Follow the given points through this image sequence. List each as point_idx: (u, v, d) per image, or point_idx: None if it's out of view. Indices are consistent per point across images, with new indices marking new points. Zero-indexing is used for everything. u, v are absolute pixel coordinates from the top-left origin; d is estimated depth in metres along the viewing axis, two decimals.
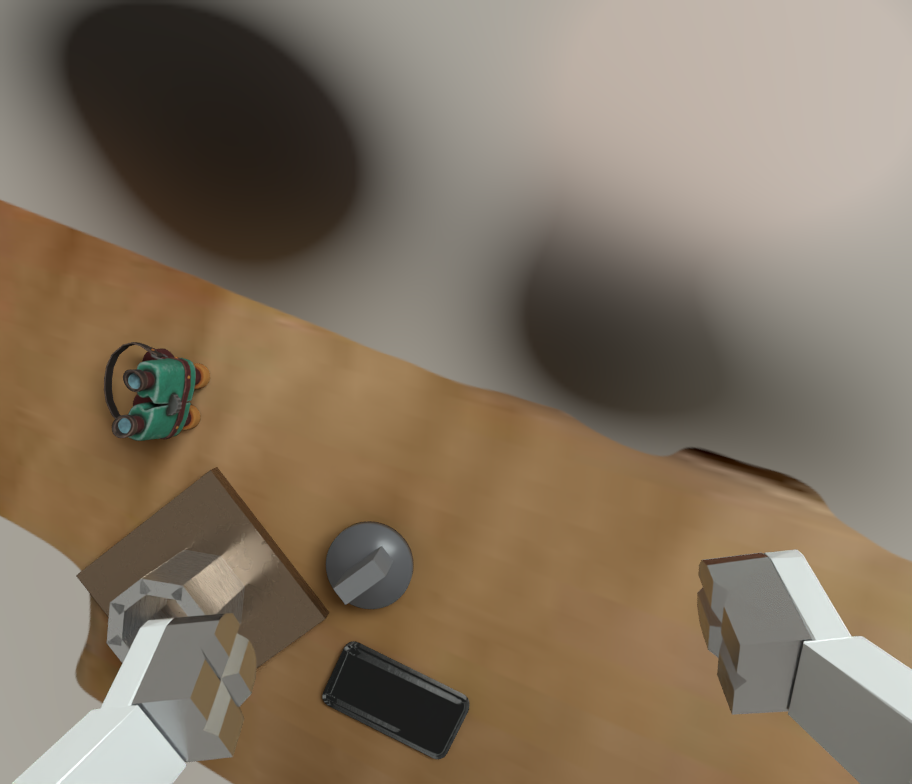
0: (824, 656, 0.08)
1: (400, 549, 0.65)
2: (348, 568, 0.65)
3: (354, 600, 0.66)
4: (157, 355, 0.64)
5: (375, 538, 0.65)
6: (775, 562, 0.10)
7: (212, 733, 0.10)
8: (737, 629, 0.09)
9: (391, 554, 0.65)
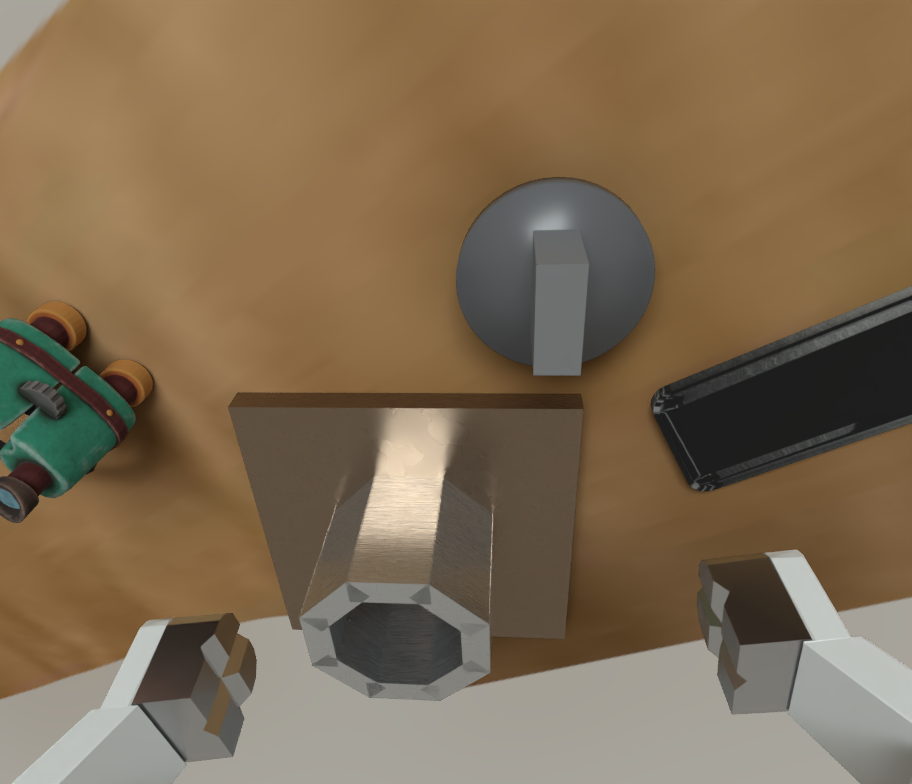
0: (825, 656, 0.08)
1: (568, 198, 0.27)
2: (528, 319, 0.30)
3: (591, 348, 0.31)
4: None
5: (511, 231, 0.28)
6: (775, 562, 0.10)
7: (212, 733, 0.10)
8: (737, 629, 0.09)
9: (564, 223, 0.27)
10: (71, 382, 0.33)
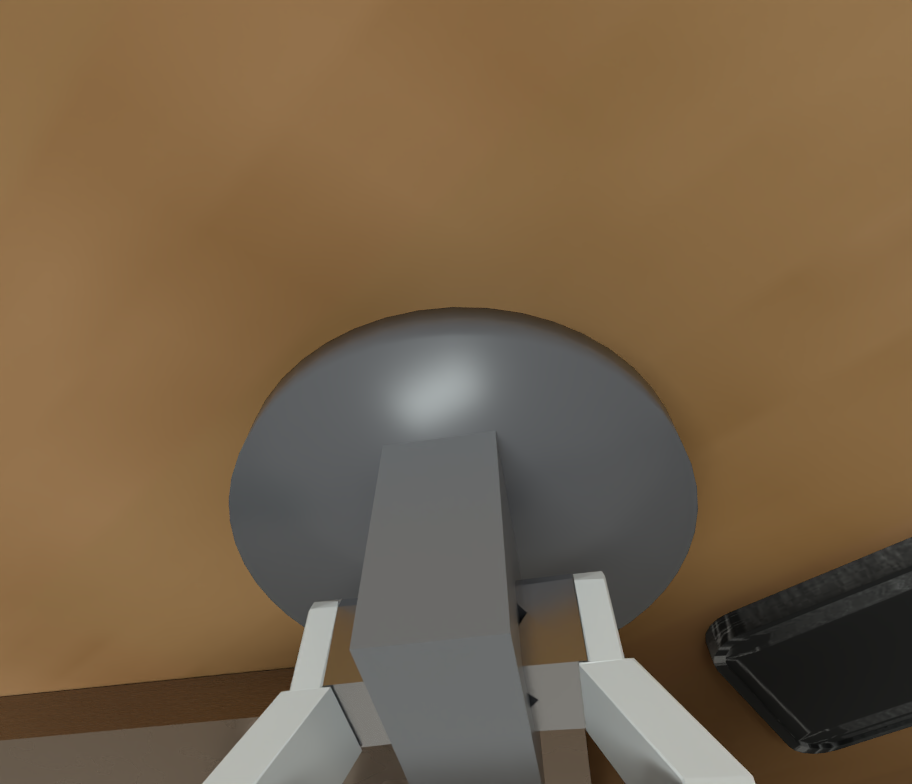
0: (593, 678, 0.09)
1: (451, 371, 0.10)
2: None
3: None
4: None
5: (330, 455, 0.11)
6: (576, 583, 0.10)
7: None
8: (524, 650, 0.09)
9: (454, 424, 0.11)
10: None
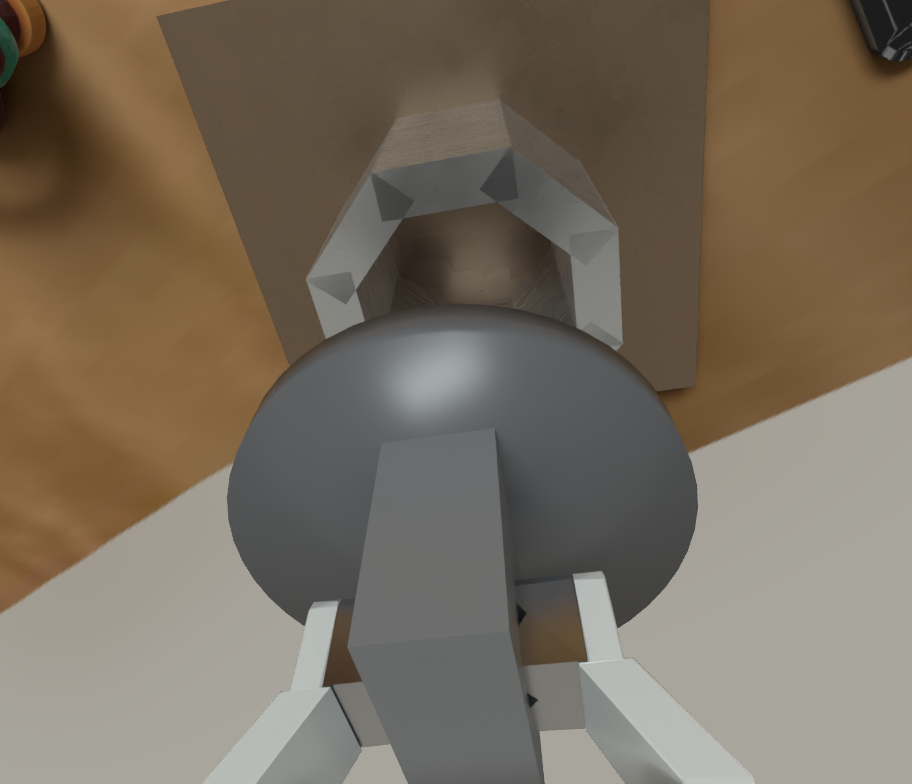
0: (593, 678, 0.09)
1: (450, 367, 0.10)
2: None
3: None
4: None
5: (329, 452, 0.11)
6: (576, 583, 0.10)
7: None
8: (524, 650, 0.09)
9: (453, 421, 0.11)
10: None
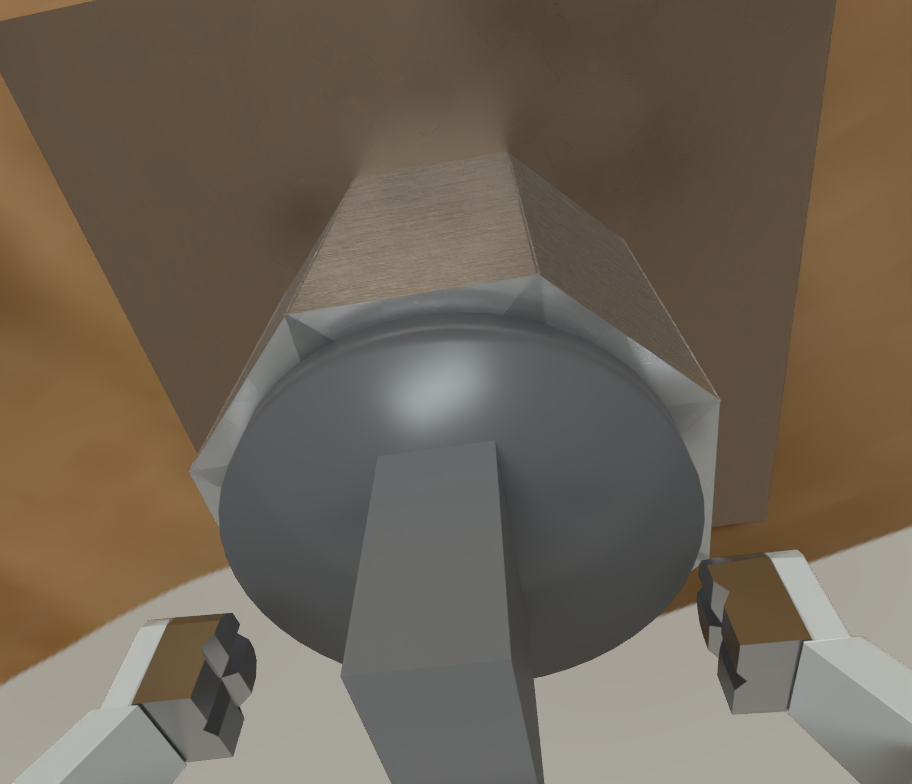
0: (824, 656, 0.08)
1: (448, 377, 0.10)
2: None
3: (576, 648, 0.14)
4: None
5: (323, 465, 0.11)
6: (775, 562, 0.10)
7: (212, 733, 0.10)
8: (737, 629, 0.09)
9: (452, 433, 0.10)
10: None
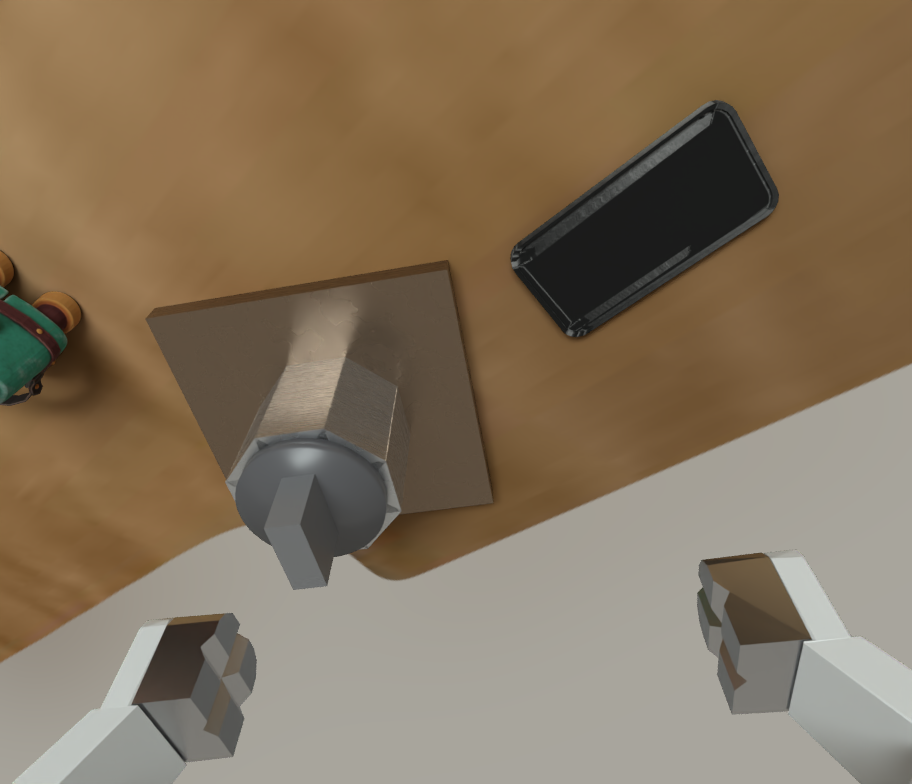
0: (825, 656, 0.08)
1: (298, 457, 0.36)
2: None
3: (357, 542, 0.40)
4: None
5: (266, 480, 0.37)
6: (775, 562, 0.10)
7: (212, 733, 0.10)
8: (737, 629, 0.09)
9: (302, 471, 0.36)
10: (0, 306, 0.38)
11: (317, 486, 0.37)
